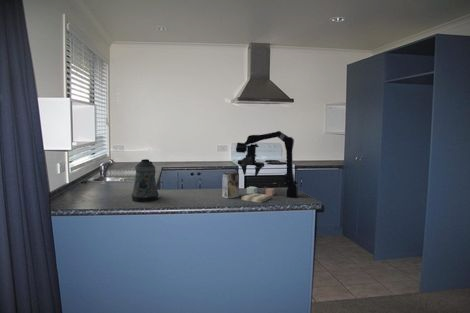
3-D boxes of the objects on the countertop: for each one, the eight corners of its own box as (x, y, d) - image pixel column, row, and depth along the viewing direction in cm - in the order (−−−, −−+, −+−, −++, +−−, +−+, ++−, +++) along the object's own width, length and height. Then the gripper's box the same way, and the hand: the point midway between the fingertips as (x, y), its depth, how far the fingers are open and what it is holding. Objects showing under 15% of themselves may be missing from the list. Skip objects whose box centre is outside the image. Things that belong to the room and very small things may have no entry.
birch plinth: (270, 198, 220) (270, 195, 219) (261, 202, 208) (261, 199, 208) (251, 195, 227) (251, 192, 227) (241, 199, 215) (241, 196, 215)
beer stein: (131, 202, 204) (130, 161, 201) (132, 195, 222) (131, 158, 220) (159, 201, 208) (158, 161, 205) (157, 194, 227) (157, 157, 224)
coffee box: (233, 195, 228) (233, 171, 226) (238, 197, 223) (239, 172, 221) (221, 196, 222) (222, 172, 221) (227, 198, 217) (227, 174, 215)
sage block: (257, 192, 237) (257, 187, 236) (253, 194, 232) (253, 188, 232) (250, 192, 239) (250, 186, 239) (246, 193, 235) (246, 187, 234)
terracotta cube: (274, 194, 232) (274, 188, 231) (271, 195, 228) (271, 190, 227) (268, 193, 234) (268, 188, 233) (265, 195, 230) (265, 189, 230)
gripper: (233, 152, 229) (232, 175, 231) (256, 155, 219) (255, 179, 220) (242, 151, 238) (241, 173, 240) (265, 154, 228) (264, 177, 229)
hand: (250, 175), depth 232 cm, fingers open, 9 cm apart
